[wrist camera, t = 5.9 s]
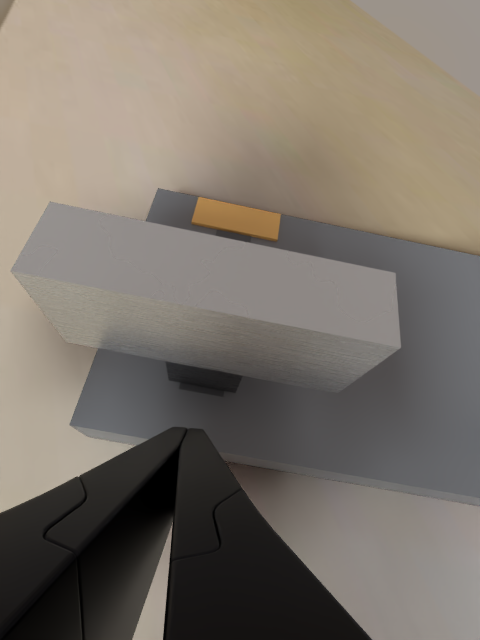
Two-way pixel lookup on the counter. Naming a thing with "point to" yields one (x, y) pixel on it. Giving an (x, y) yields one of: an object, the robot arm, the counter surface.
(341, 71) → the counter surface
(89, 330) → the switch
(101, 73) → the counter surface
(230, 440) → the switch panel
